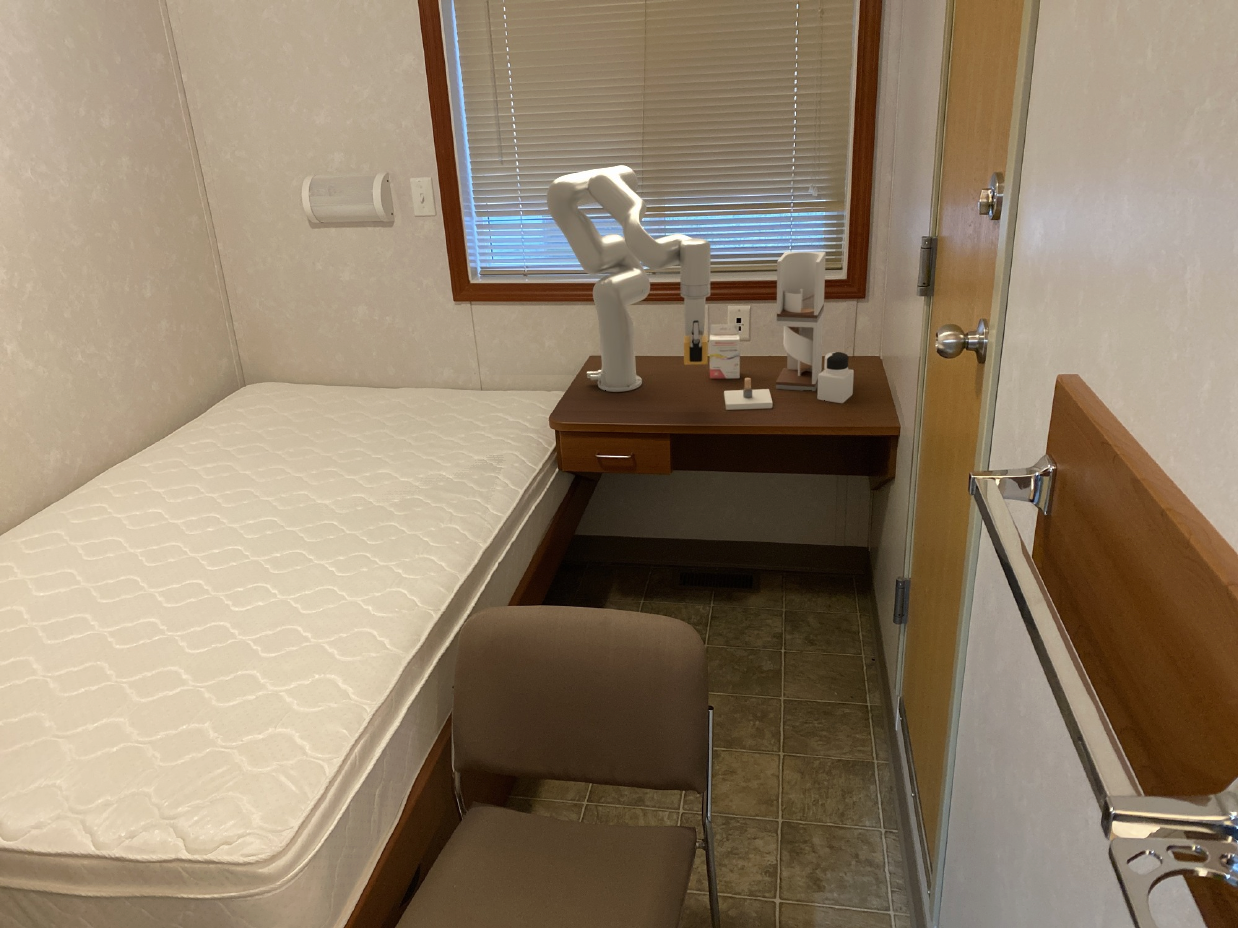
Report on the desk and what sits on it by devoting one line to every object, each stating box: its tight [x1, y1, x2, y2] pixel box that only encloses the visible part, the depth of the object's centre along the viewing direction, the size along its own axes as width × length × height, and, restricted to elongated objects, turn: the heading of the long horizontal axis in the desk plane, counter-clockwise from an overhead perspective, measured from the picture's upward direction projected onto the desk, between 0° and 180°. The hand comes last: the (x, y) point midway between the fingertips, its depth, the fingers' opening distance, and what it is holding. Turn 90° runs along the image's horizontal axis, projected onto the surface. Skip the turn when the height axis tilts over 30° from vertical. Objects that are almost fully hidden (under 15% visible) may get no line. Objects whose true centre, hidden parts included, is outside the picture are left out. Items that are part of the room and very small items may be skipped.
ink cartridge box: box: [709, 323, 741, 379], centre depth 258 cm, size 9×5×15 cm, turn 84°
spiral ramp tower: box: [775, 251, 827, 392], centre depth 245 cm, size 11×11×35 cm
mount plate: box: [723, 377, 773, 411], centre depth 241 cm, size 12×10×6 cm
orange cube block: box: [683, 334, 709, 366], centre depth 237 cm, size 6×6×6 cm
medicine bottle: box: [816, 351, 855, 404], centre depth 239 cm, size 7×7×12 cm
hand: (695, 356), depth 238 cm, fingers closed on orange cube block, 5 cm apart
